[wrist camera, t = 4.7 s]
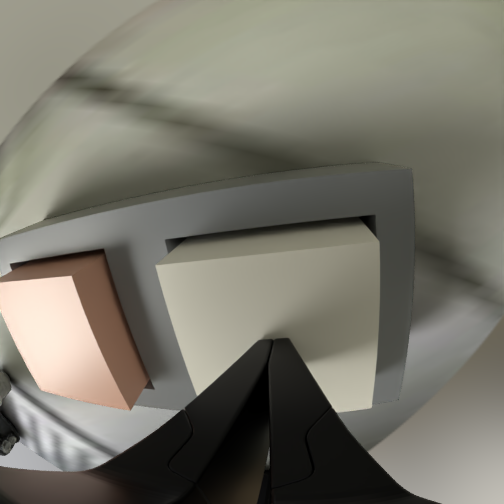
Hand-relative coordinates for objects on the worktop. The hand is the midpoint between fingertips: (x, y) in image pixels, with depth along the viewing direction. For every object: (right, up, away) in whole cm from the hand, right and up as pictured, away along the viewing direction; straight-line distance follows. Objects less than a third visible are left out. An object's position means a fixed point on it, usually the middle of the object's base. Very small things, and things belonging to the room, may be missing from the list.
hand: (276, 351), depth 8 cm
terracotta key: (-8, 0, +5) cm, 10 cm away
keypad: (-3, +1, +6) cm, 7 cm away
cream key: (+1, +1, +4) cm, 4 cm away
